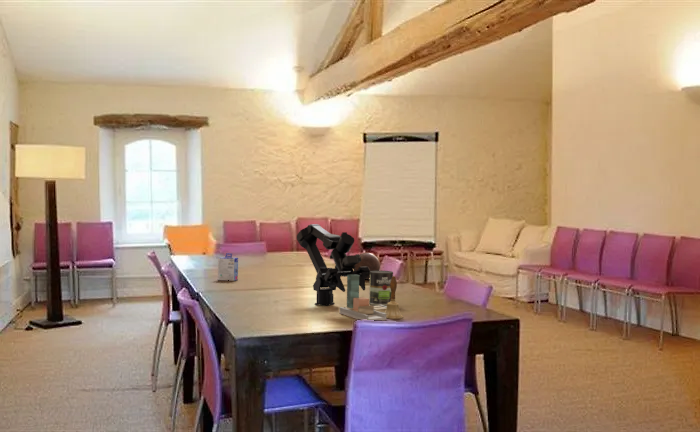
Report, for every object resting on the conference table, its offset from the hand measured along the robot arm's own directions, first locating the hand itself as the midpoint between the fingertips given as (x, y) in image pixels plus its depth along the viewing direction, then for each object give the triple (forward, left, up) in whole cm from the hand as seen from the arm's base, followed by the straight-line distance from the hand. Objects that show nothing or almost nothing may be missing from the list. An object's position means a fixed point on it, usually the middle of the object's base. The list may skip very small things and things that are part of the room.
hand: (354, 290), depth 270 cm
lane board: (+8, +1, -9) cm, 12 cm away
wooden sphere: (-48, +99, -10) cm, 110 cm away
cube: (+5, -3, -7) cm, 9 cm away
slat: (+3, -2, -8) cm, 9 cm away
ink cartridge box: (-108, +52, -10) cm, 120 cm away
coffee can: (-3, +29, -10) cm, 30 cm away
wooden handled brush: (+15, +3, -10) cm, 18 cm away
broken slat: (+6, +7, -9) cm, 13 cm away
